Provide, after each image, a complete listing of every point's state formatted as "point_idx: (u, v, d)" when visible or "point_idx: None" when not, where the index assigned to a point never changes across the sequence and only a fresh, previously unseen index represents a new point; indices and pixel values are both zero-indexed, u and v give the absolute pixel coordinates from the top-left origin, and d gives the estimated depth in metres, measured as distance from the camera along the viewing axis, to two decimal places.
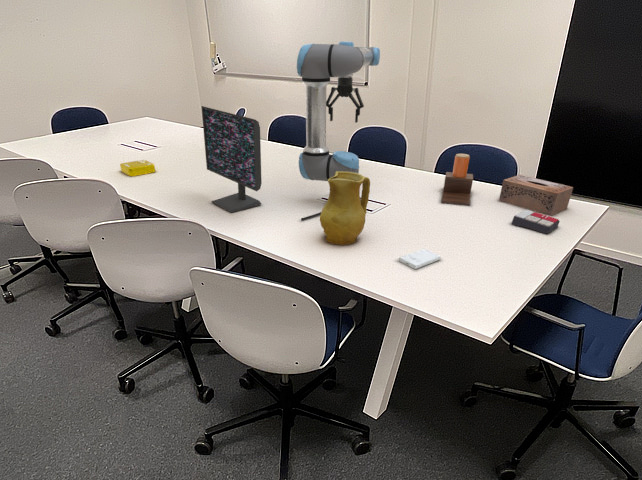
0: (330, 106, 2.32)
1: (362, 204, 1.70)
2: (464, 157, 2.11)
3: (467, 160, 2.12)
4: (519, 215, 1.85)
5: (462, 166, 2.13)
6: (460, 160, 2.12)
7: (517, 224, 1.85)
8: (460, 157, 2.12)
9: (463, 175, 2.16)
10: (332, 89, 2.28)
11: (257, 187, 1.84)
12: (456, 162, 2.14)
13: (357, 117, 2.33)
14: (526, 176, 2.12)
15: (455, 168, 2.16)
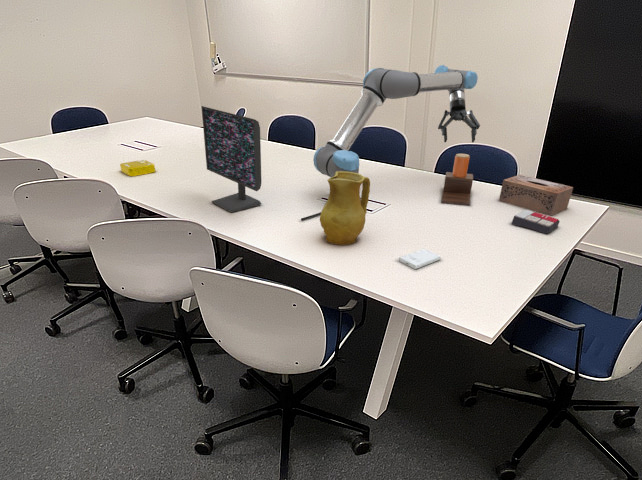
0: (445, 126, 2.20)
1: (362, 204, 1.70)
2: (464, 157, 2.11)
3: (467, 160, 2.12)
4: (519, 215, 1.85)
5: (462, 166, 2.13)
6: (460, 160, 2.12)
7: (517, 224, 1.85)
8: (460, 157, 2.12)
9: (463, 175, 2.16)
10: (446, 112, 2.22)
11: (257, 187, 1.84)
12: (456, 162, 2.14)
13: None
14: (526, 176, 2.12)
15: (455, 168, 2.16)
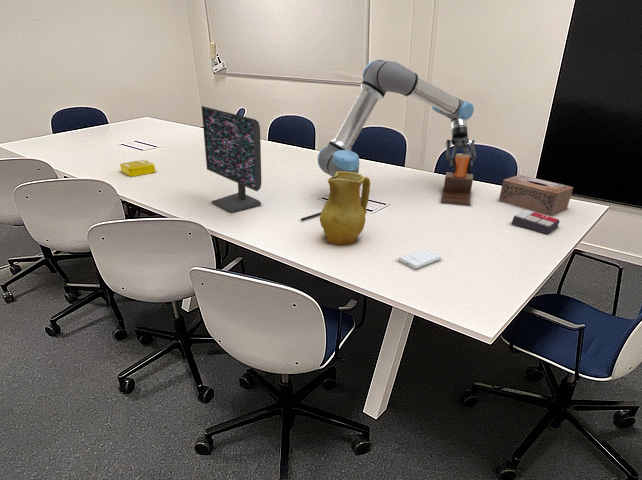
0: (453, 157, 2.15)
1: (362, 204, 1.70)
2: (464, 157, 2.11)
3: (467, 160, 2.12)
4: (519, 215, 1.85)
5: (462, 166, 2.13)
6: (460, 160, 2.12)
7: (517, 224, 1.85)
8: (460, 157, 2.12)
9: (463, 175, 2.16)
10: (448, 141, 2.17)
11: (257, 187, 1.84)
12: (456, 162, 2.14)
13: None
14: (526, 176, 2.12)
15: None
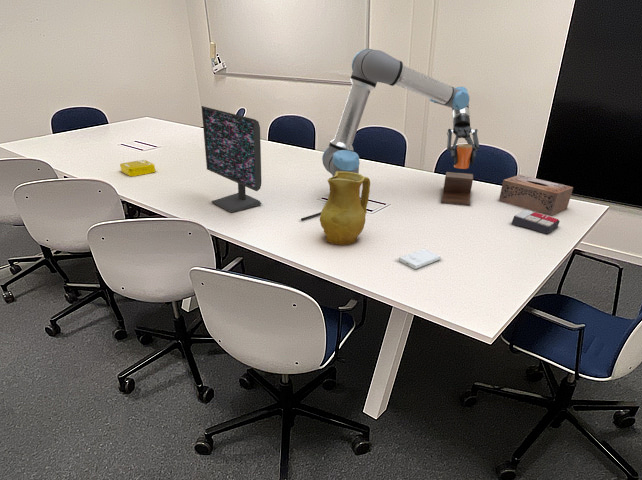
0: (454, 147, 2.03)
1: (362, 204, 1.70)
2: (466, 147, 1.99)
3: (470, 150, 2.00)
4: (519, 215, 1.85)
5: (464, 157, 2.01)
6: (462, 150, 2.00)
7: (517, 224, 1.85)
8: (462, 147, 1.99)
9: (465, 166, 2.03)
10: (449, 130, 2.05)
11: (257, 187, 1.84)
12: (458, 153, 2.01)
13: None
14: (526, 176, 2.12)
15: (457, 159, 2.03)
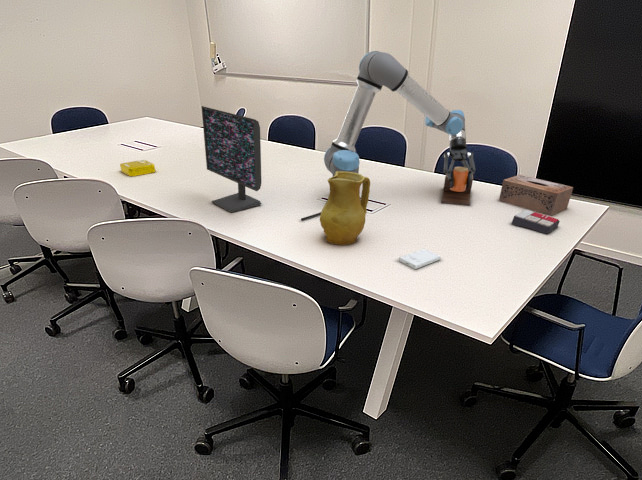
0: (451, 170, 2.05)
1: (362, 204, 1.70)
2: (463, 171, 2.01)
3: (466, 174, 2.02)
4: (519, 215, 1.85)
5: (460, 180, 2.03)
6: (458, 174, 2.02)
7: (517, 224, 1.85)
8: (458, 171, 2.01)
9: (462, 189, 2.05)
10: (446, 153, 2.07)
11: (257, 187, 1.84)
12: (454, 176, 2.04)
13: None
14: (526, 176, 2.12)
15: None
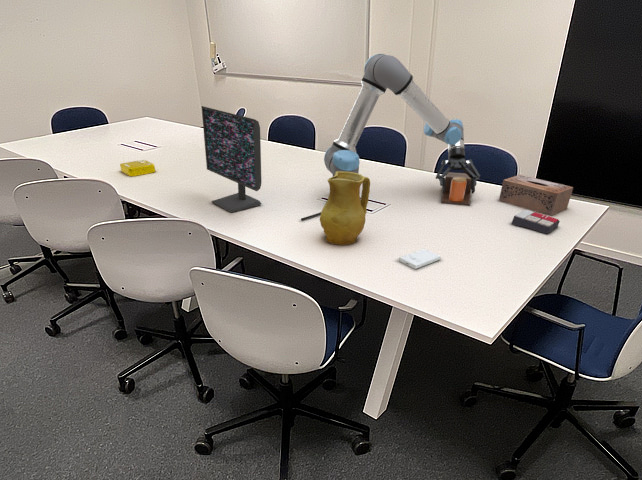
0: (443, 176, 2.07)
1: (362, 204, 1.70)
2: (461, 181, 2.03)
3: (464, 184, 2.04)
4: (519, 215, 1.85)
5: (459, 190, 2.05)
6: (457, 184, 2.04)
7: (517, 224, 1.85)
8: (457, 181, 2.04)
9: (460, 199, 2.08)
10: (444, 160, 2.09)
11: (257, 187, 1.84)
12: (453, 186, 2.06)
13: None
14: (526, 176, 2.12)
15: (452, 192, 2.08)
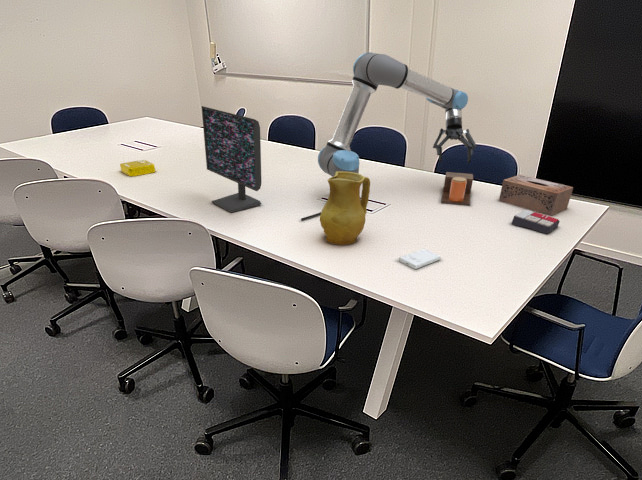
0: (440, 145, 2.12)
1: (362, 204, 1.70)
2: (461, 181, 2.03)
3: (464, 184, 2.04)
4: (519, 215, 1.85)
5: (459, 190, 2.05)
6: (457, 184, 2.04)
7: (517, 224, 1.85)
8: (457, 181, 2.04)
9: (460, 199, 2.08)
10: (441, 130, 2.14)
11: (257, 187, 1.84)
12: (453, 186, 2.06)
13: None
14: (526, 176, 2.12)
15: (452, 192, 2.08)
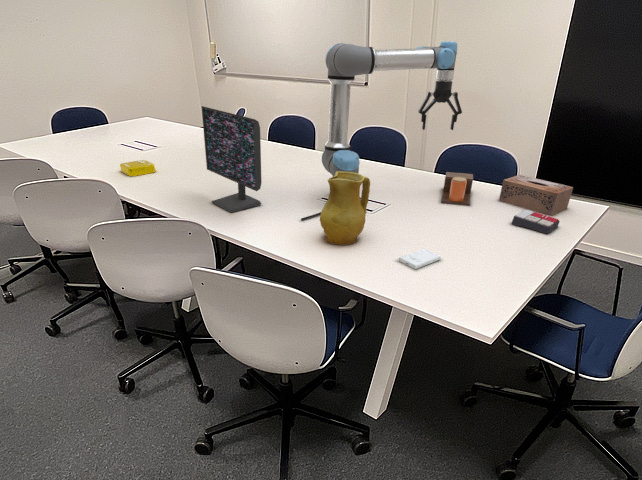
0: (425, 113, 2.10)
1: (362, 204, 1.70)
2: (461, 181, 2.03)
3: (464, 184, 2.04)
4: (519, 215, 1.85)
5: (459, 190, 2.05)
6: (457, 184, 2.04)
7: (517, 224, 1.85)
8: (457, 181, 2.04)
9: (460, 199, 2.08)
10: (429, 94, 2.05)
11: (257, 187, 1.84)
12: (453, 186, 2.06)
13: None
14: (526, 176, 2.12)
15: (452, 192, 2.08)
